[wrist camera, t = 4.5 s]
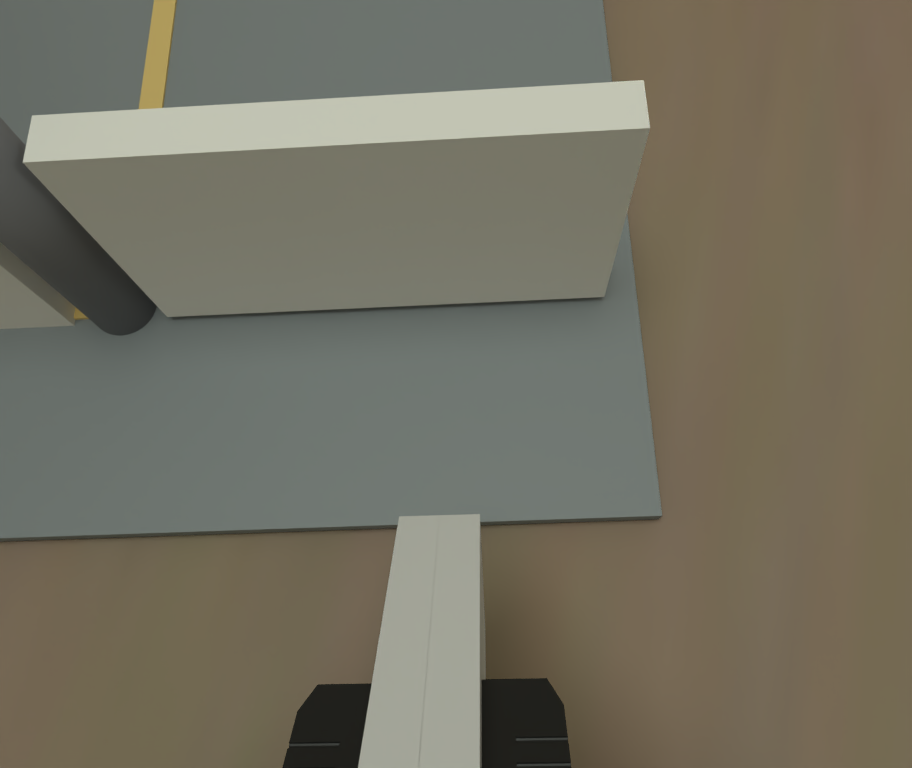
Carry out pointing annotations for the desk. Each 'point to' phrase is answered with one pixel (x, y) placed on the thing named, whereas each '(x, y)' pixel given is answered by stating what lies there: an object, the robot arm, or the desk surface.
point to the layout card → (316, 331)
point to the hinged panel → (355, 196)
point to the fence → (56, 259)
